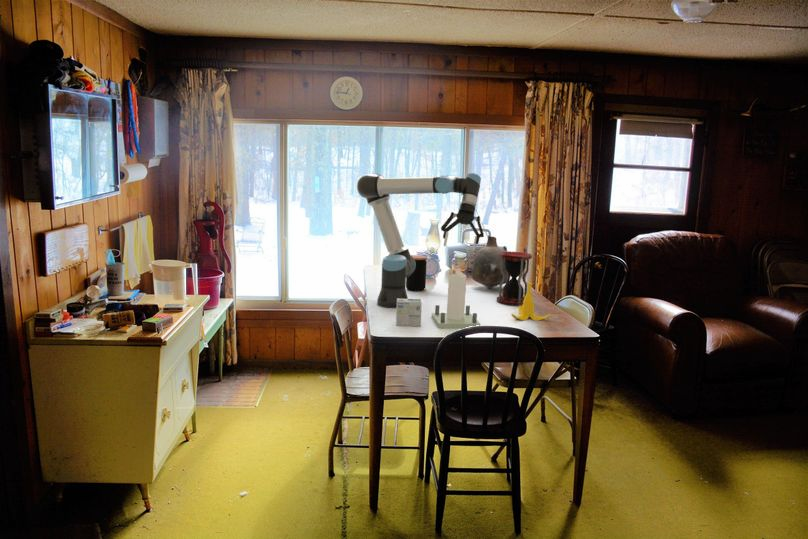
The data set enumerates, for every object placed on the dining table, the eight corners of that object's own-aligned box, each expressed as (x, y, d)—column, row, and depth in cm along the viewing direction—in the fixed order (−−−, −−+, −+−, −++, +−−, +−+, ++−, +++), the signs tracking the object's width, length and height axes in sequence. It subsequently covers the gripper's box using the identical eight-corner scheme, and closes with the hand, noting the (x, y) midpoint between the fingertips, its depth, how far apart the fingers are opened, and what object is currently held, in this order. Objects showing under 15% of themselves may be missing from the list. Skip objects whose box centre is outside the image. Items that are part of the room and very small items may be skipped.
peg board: (438, 328, 269) (438, 314, 268) (431, 317, 287) (432, 304, 286) (480, 328, 271) (480, 314, 270) (470, 317, 289) (471, 304, 288)
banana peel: (510, 321, 287) (512, 284, 284) (518, 312, 304) (521, 277, 301) (547, 326, 281) (550, 288, 278) (553, 316, 298) (556, 281, 295)
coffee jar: (425, 288, 351) (427, 255, 348) (424, 292, 341) (426, 258, 338) (406, 286, 352) (408, 254, 349) (404, 290, 342) (406, 257, 339)
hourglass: (491, 299, 330) (494, 251, 326) (519, 298, 335) (522, 251, 330) (505, 306, 315) (508, 256, 310) (534, 305, 320) (538, 256, 315)
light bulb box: (420, 322, 277) (421, 298, 275) (421, 326, 271) (422, 301, 269) (395, 321, 277) (396, 297, 275) (396, 326, 270) (396, 301, 268)
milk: (446, 318, 277) (448, 268, 274) (451, 316, 283) (453, 267, 279) (459, 320, 275) (462, 270, 271) (464, 317, 280) (466, 268, 276)
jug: (518, 292, 350) (522, 237, 345) (483, 293, 343) (487, 238, 337) (495, 283, 373) (499, 232, 368) (463, 284, 365) (466, 232, 360)
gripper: (494, 212, 302) (485, 254, 297) (442, 204, 307) (433, 245, 302) (493, 206, 295) (485, 249, 290) (441, 198, 300) (431, 240, 295)
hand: (459, 247), depth 296 cm, fingers open, 13 cm apart
